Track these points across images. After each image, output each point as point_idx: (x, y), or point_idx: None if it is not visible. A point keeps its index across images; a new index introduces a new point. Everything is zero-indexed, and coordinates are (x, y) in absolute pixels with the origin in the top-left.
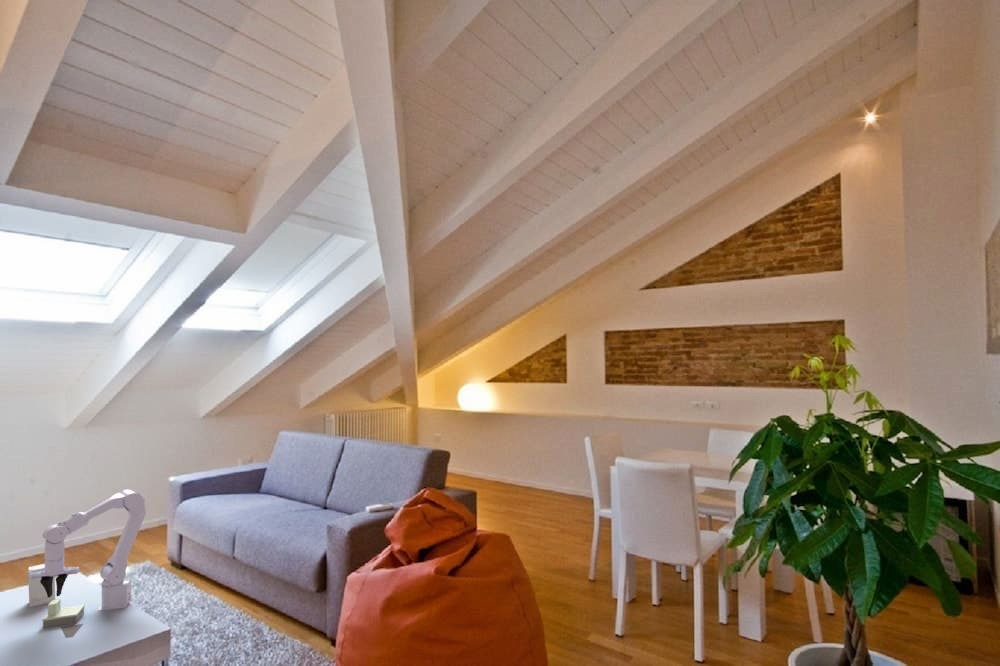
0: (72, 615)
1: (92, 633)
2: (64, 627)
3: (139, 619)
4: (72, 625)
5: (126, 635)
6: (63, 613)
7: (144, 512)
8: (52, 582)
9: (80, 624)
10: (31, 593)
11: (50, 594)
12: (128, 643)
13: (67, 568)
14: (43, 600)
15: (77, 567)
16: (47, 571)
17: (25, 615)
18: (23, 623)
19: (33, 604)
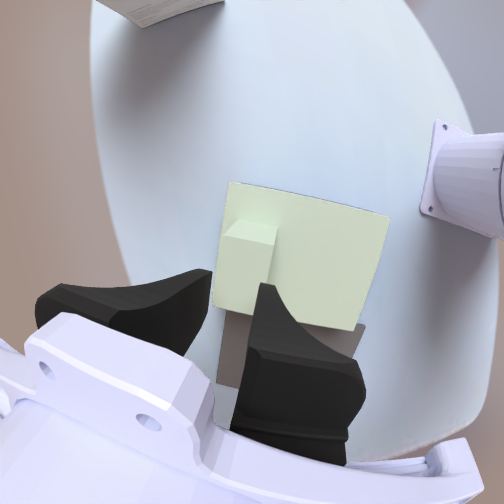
0: (336, 327)
1: (377, 395)
2: (304, 326)
3: (482, 359)
4: None
5: (428, 425)
6: (297, 288)
7: None
8: (167, 297)
9: (357, 330)
10: (113, 3)
11: (203, 310)
12: (416, 449)
13: (358, 497)
14: (176, 4)
15: (466, 494)
16: None
17: (134, 87)
18: (141, 171)
19: (147, 19)
